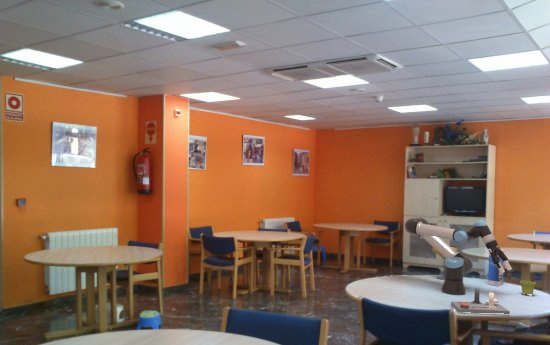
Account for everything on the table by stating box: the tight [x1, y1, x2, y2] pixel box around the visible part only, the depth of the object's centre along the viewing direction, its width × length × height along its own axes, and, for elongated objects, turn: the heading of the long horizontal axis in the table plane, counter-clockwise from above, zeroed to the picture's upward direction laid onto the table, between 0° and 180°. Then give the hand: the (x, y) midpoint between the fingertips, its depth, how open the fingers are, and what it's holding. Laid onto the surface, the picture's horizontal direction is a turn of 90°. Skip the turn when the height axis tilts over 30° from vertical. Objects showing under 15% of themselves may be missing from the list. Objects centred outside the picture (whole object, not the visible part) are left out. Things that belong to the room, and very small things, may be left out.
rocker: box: [485, 298, 499, 304], centre depth 284 cm, size 6×4×2 cm, turn 86°
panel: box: [450, 300, 511, 314], centre depth 280 cm, size 28×16×5 cm, turn 86°
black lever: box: [471, 288, 482, 304], centre depth 284 cm, size 4×3×9 cm
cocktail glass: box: [432, 245, 458, 281], centre depth 367 cm, size 18×18×25 cm
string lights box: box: [487, 248, 505, 287], centre depth 353 cm, size 13×8×26 cm, turn 139°
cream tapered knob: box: [487, 291, 496, 309], centre depth 275 cm, size 4×3×9 cm
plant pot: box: [519, 280, 536, 295], centre depth 322 cm, size 9×9×9 cm
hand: (506, 271), depth 312 cm, fingers open, 13 cm apart
